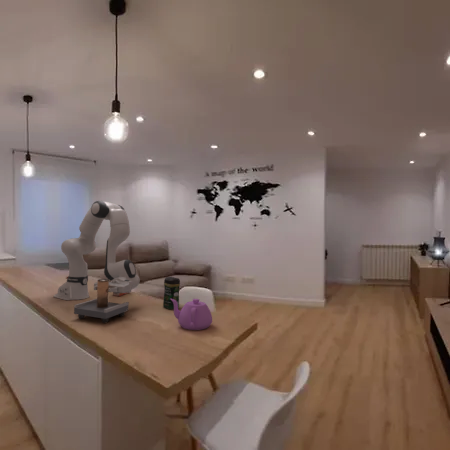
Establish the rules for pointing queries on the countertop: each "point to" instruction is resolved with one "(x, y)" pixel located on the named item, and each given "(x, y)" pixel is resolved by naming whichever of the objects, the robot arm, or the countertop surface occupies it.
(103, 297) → the canister
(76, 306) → the grey rimmed tray
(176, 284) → the coffee jar
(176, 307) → the teakettle
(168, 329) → the countertop surface
